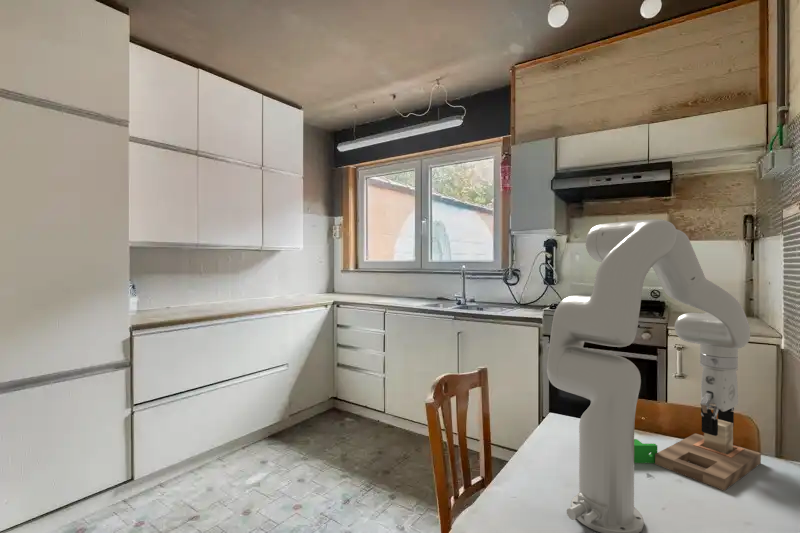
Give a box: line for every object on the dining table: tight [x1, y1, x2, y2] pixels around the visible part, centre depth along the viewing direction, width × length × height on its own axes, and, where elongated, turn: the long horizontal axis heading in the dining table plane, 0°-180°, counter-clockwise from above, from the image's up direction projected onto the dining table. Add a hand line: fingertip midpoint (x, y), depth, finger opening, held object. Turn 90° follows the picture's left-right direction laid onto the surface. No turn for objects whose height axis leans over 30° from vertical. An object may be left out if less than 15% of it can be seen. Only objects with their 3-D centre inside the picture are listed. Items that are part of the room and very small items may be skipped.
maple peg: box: [703, 418, 734, 454], centre depth 104 cm, size 4×4×9 cm
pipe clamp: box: [634, 438, 658, 464], centre depth 103 cm, size 11×4×5 cm, turn 89°
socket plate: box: [654, 433, 762, 491], centre depth 101 cm, size 22×14×3 cm, turn 123°
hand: (717, 429), depth 104 cm, fingers open, 9 cm apart
